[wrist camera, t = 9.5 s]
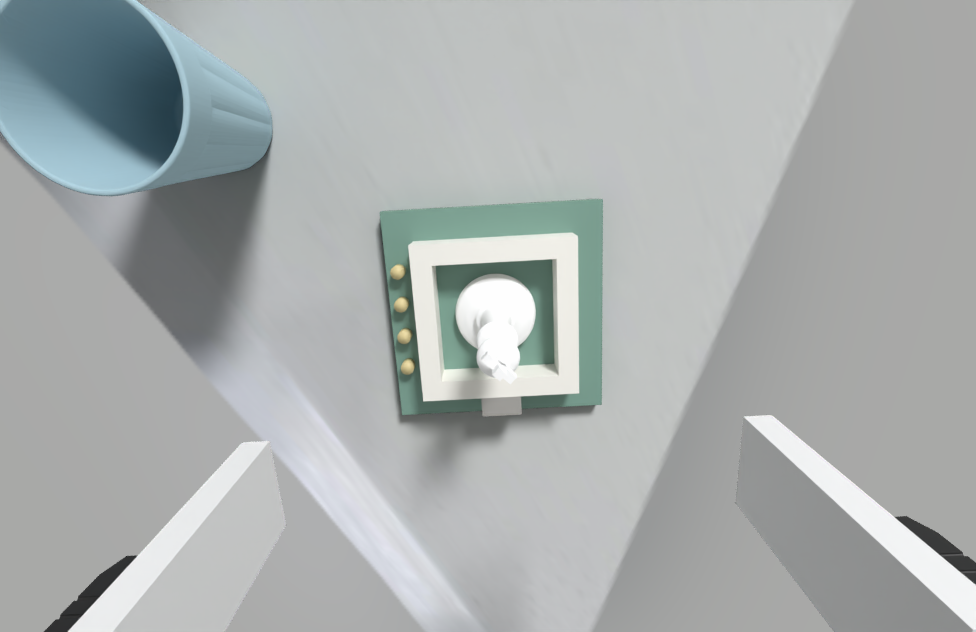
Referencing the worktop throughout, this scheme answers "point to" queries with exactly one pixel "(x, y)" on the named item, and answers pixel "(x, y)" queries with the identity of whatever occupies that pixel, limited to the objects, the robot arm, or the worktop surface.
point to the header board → (496, 250)
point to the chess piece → (496, 322)
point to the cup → (121, 98)
